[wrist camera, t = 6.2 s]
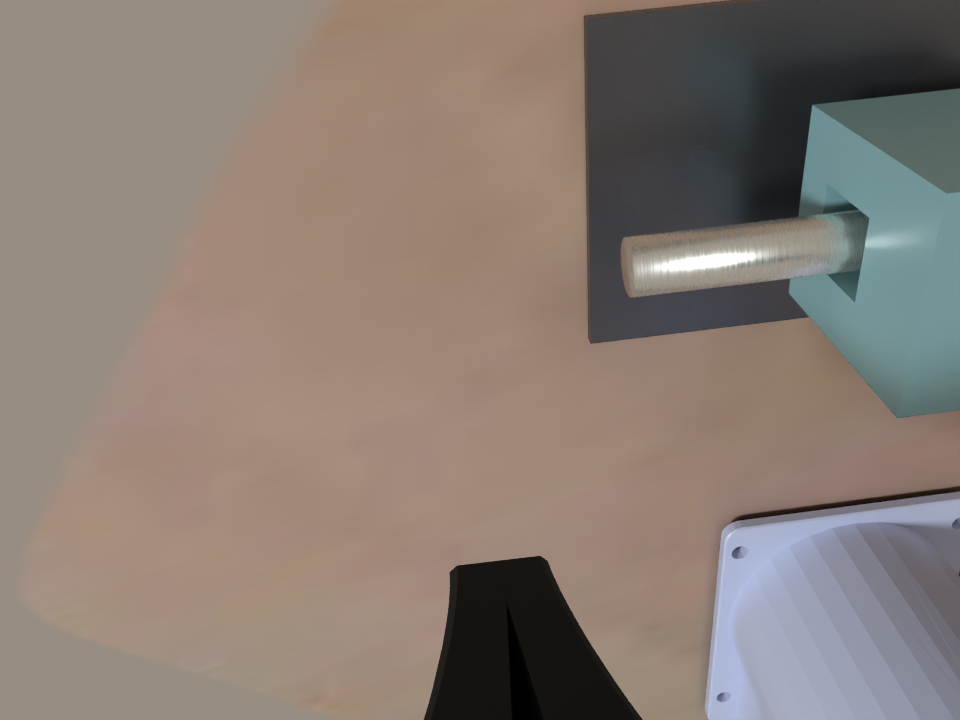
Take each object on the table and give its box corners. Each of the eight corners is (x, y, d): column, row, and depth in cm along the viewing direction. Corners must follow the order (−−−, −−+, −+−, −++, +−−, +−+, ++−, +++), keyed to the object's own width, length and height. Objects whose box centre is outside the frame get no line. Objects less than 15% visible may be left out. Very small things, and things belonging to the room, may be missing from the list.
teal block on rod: (954, 272, 20) (1104, 391, 16) (788, 293, 20) (896, 418, 16) (999, 83, 18) (1188, 165, 14) (812, 104, 18) (947, 193, 14)
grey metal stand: (994, 288, 23) (1148, 406, 19) (588, 337, 23) (643, 471, 18) (1081, -37, 19) (1310, 11, 14) (584, 15, 18) (654, 83, 14)
